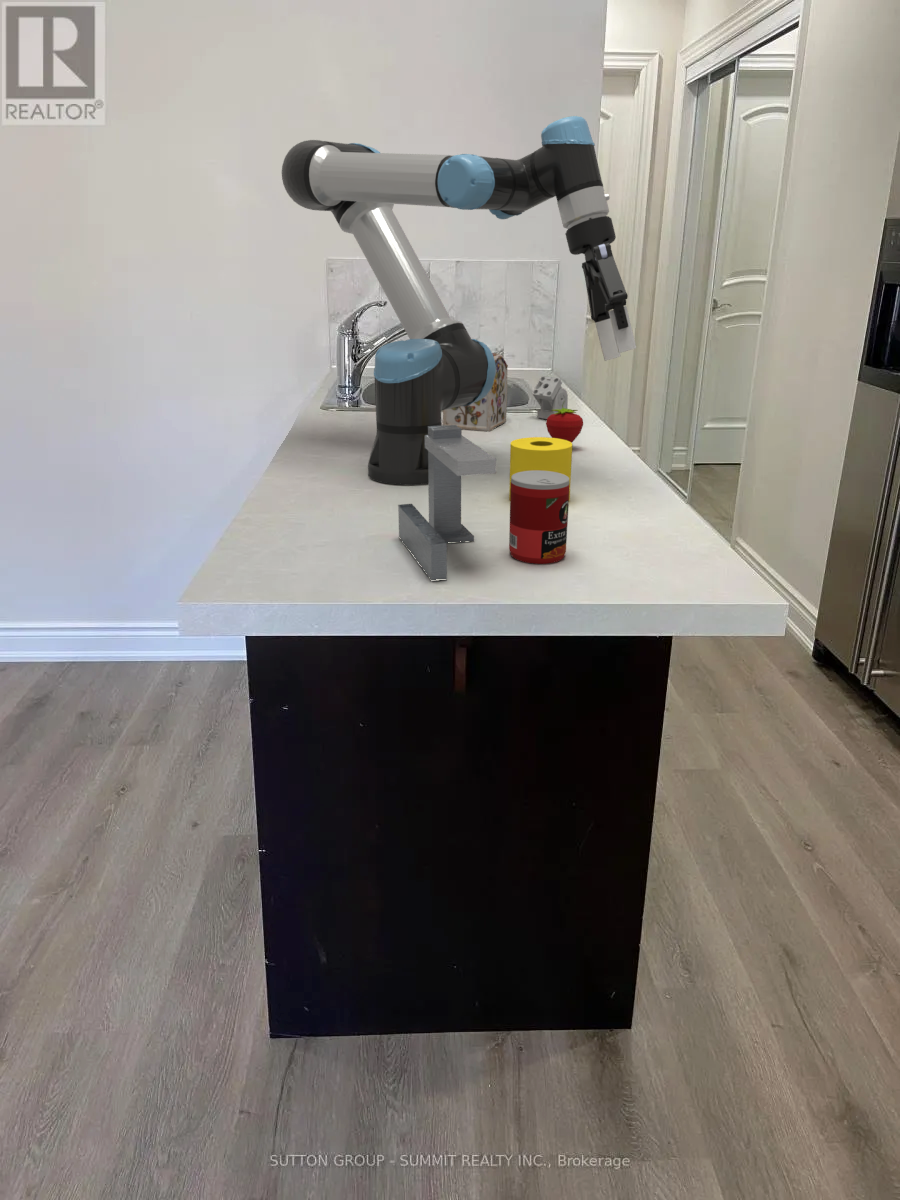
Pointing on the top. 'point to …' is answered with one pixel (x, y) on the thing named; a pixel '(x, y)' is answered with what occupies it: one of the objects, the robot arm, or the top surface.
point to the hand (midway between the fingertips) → (619, 355)
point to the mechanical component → (550, 396)
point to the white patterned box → (483, 405)
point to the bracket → (442, 498)
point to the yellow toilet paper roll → (541, 456)
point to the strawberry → (564, 424)
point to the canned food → (538, 516)
